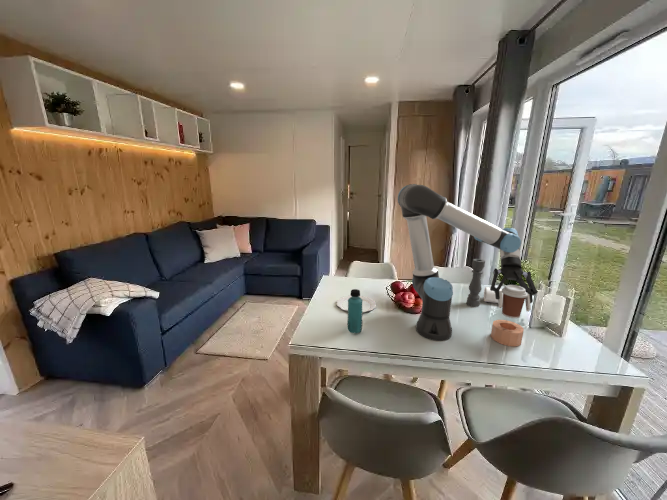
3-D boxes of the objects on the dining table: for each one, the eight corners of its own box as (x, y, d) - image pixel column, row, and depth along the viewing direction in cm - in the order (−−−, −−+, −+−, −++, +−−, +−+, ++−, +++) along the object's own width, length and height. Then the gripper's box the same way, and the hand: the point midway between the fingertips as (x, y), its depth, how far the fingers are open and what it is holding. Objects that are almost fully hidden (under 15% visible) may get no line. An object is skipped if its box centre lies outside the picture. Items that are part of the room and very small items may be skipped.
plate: (378, 315, 140) (378, 312, 139) (336, 314, 140) (336, 311, 140) (373, 298, 160) (373, 295, 159) (336, 297, 160) (336, 294, 160)
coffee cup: (521, 322, 110) (527, 294, 107) (495, 315, 116) (500, 288, 113) (525, 314, 117) (530, 287, 114) (500, 307, 123) (504, 282, 120)
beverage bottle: (364, 332, 123) (366, 290, 118) (354, 338, 118) (356, 294, 114) (353, 327, 128) (355, 286, 123) (343, 332, 123) (344, 290, 118)
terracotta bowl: (509, 348, 112) (512, 335, 111) (485, 335, 122) (487, 322, 120) (527, 342, 116) (529, 329, 115) (502, 329, 126) (504, 317, 125)
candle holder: (479, 303, 153) (485, 259, 147) (479, 307, 148) (485, 262, 142) (466, 301, 156) (472, 258, 150) (466, 305, 151) (472, 260, 145)
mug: (505, 306, 150) (508, 292, 148) (484, 303, 153) (486, 290, 151) (501, 298, 161) (503, 285, 159) (482, 295, 164) (484, 282, 162)
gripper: (536, 266, 123) (542, 315, 112) (481, 261, 130) (482, 307, 119) (543, 258, 117) (550, 309, 106) (484, 253, 123) (486, 301, 113)
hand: (514, 308), depth 112 cm, fingers closed on coffee cup, 9 cm apart
